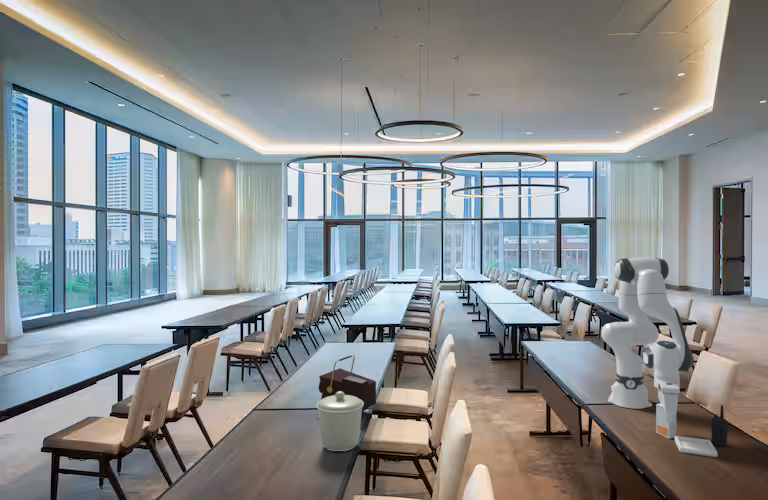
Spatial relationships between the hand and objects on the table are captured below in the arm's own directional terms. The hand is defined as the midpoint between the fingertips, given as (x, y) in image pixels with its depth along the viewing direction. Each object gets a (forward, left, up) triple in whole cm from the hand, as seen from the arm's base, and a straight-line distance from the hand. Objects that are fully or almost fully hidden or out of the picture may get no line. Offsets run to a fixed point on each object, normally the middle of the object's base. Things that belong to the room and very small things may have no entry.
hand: (666, 417), depth 196 cm
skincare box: (0, 0, -7) cm, 7 cm away
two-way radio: (+3, +17, -7) cm, 19 cm away
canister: (+55, -117, -7) cm, 129 cm away
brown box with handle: (+20, -130, -7) cm, 132 cm away
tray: (+10, +8, -7) cm, 14 cm away
